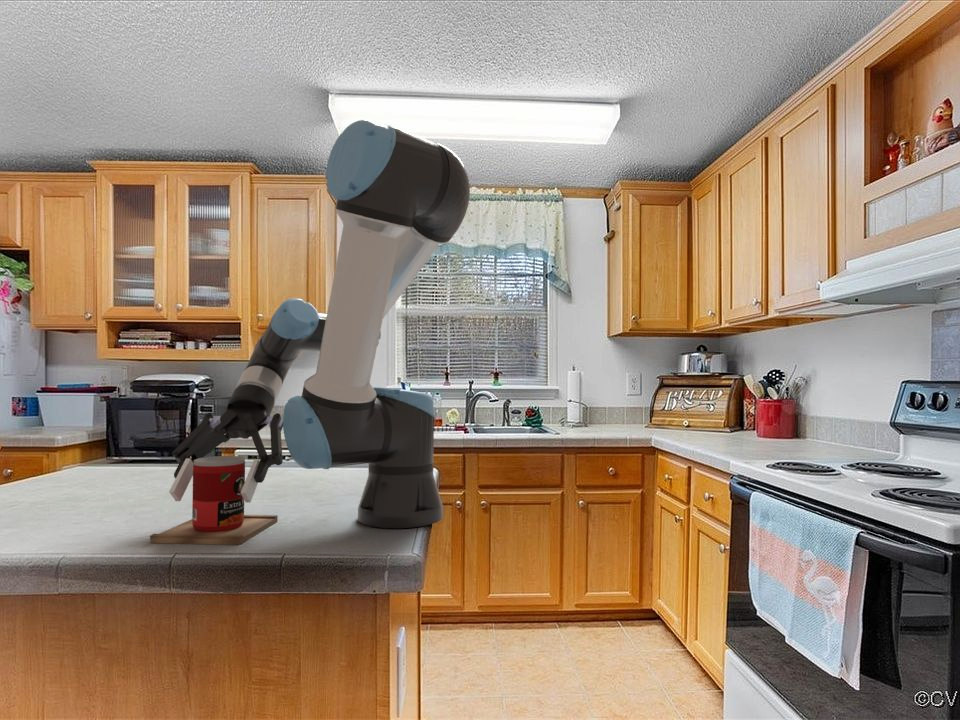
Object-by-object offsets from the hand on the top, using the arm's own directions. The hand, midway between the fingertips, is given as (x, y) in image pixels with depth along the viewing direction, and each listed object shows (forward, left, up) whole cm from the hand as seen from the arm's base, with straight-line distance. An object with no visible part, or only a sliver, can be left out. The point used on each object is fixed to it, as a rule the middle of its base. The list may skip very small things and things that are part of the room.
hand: (209, 497), depth 91 cm
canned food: (0, -3, -6) cm, 6 cm away
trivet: (0, -3, -6) cm, 7 cm away
